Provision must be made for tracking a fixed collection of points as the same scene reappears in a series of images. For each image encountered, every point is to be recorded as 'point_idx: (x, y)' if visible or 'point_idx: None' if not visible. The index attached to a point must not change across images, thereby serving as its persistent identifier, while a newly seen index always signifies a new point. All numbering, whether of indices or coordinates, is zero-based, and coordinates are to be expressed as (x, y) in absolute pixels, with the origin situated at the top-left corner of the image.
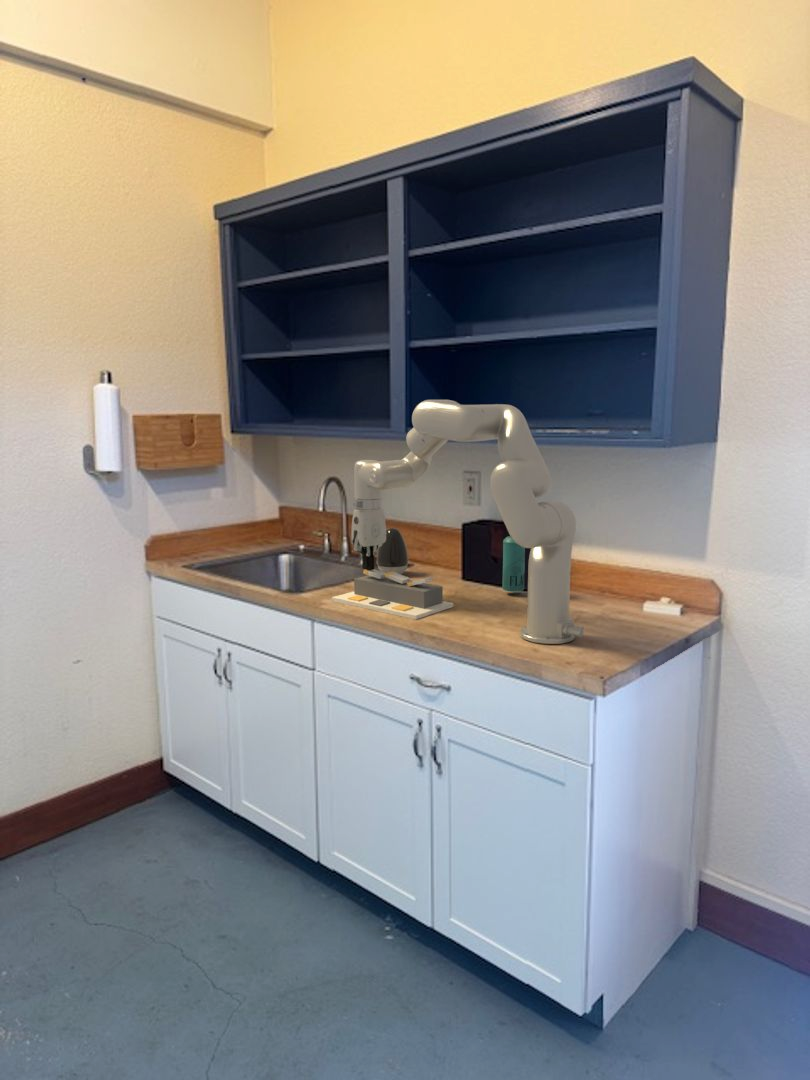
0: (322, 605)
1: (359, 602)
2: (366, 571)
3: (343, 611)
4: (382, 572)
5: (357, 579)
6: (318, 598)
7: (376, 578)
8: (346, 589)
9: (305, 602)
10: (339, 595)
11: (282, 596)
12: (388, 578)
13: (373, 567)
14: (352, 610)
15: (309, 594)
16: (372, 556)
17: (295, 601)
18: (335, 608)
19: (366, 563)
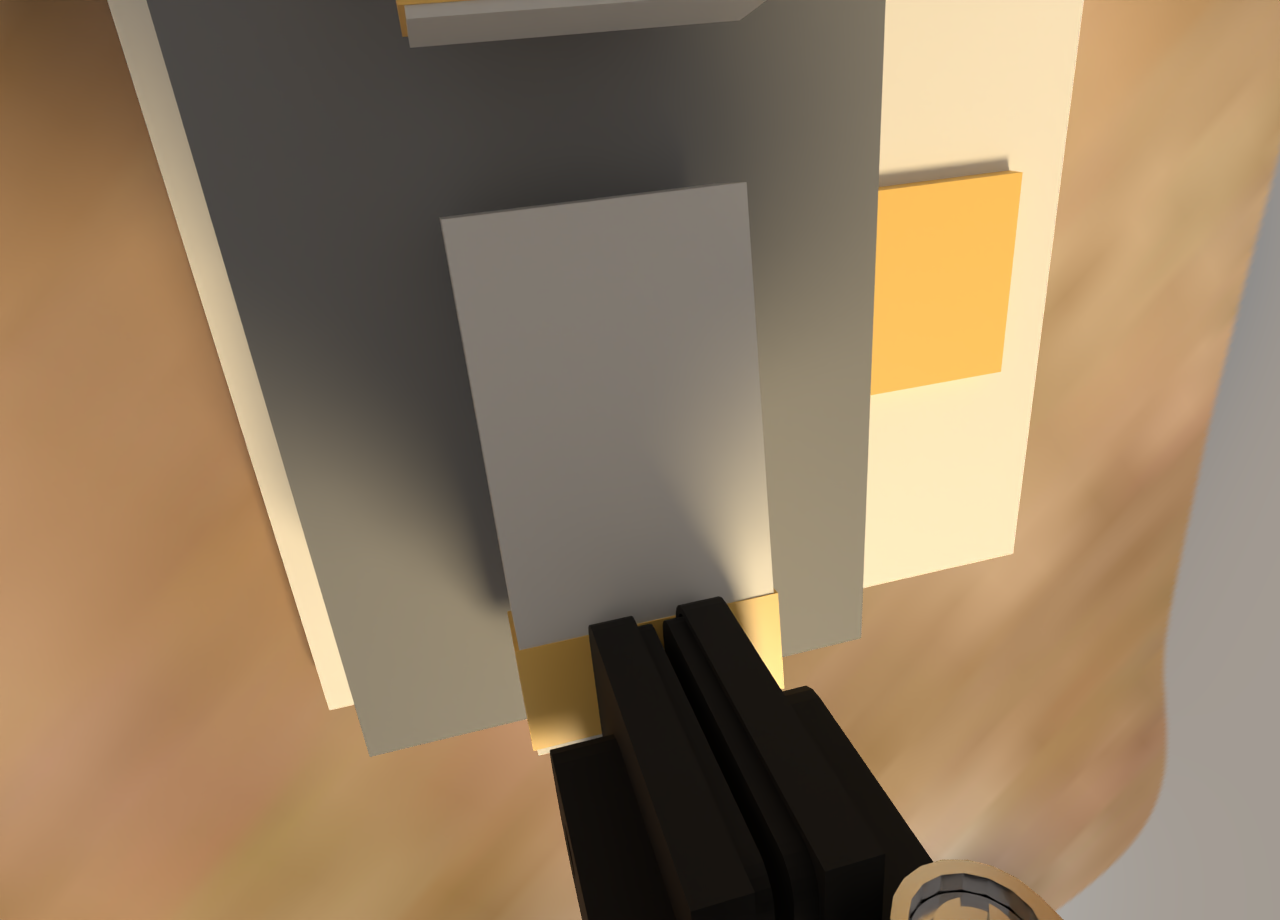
0: (1164, 443)
1: (1038, 116)
2: (777, 607)
3: (1273, 65)
4: (512, 380)
5: (863, 571)
6: (981, 682)
7: None
8: (540, 838)
9: (1146, 627)
10: (907, 570)
11: (1080, 873)
12: (392, 238)
13: (626, 639)
14: (1198, 12)
15: (917, 834)
16: (750, 890)
17: (1156, 699)
18: (1204, 248)
19: (841, 744)
